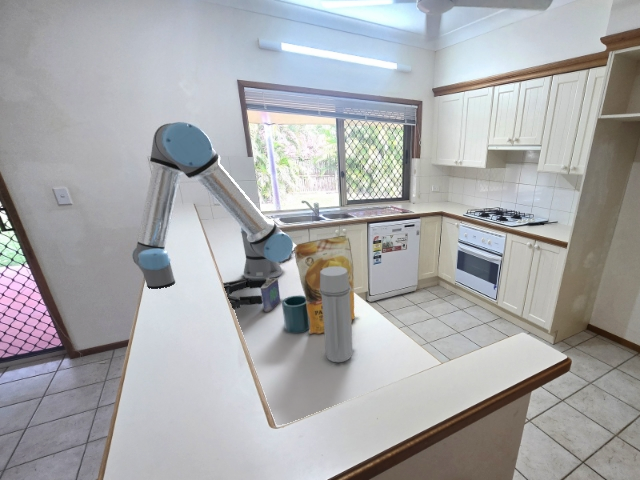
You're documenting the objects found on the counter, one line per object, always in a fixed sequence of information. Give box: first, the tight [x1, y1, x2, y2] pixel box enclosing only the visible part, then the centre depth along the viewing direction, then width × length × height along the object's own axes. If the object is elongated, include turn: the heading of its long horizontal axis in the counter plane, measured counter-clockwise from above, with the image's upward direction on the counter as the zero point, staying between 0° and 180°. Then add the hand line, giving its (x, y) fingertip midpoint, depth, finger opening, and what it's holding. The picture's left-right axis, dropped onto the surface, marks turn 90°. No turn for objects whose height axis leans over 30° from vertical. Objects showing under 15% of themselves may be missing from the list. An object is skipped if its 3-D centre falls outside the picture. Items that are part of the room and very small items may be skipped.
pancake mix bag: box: [293, 235, 356, 335], centre depth 100 cm, size 7×19×28 cm, turn 129°
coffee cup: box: [281, 295, 310, 334], centre depth 102 cm, size 8×8×9 cm
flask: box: [260, 277, 281, 313], centre depth 114 cm, size 9×3×11 cm, turn 172°
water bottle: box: [319, 266, 354, 363], centre depth 84 cm, size 9×8×25 cm
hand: (265, 291), depth 113 cm, fingers open, 13 cm apart
